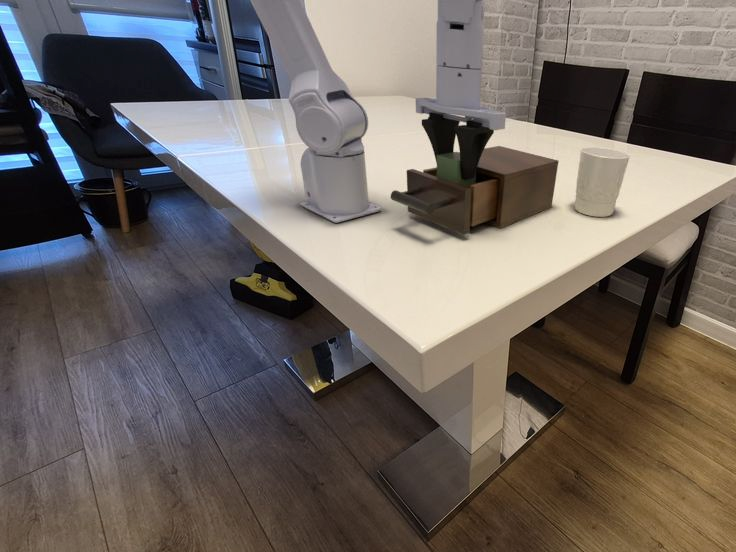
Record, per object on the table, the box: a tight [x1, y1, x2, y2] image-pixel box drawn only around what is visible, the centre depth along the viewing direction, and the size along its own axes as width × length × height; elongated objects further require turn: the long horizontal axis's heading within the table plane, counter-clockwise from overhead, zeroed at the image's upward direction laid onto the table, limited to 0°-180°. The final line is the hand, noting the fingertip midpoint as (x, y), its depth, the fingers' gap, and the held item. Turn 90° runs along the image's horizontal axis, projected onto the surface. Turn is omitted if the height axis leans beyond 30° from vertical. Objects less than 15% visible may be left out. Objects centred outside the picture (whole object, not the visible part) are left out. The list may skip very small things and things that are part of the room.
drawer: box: [390, 166, 500, 235], centre depth 59 cm, size 18×11×6 cm, turn 142°
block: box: [436, 151, 476, 187], centre depth 57 cm, size 4×4×4 cm
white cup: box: [574, 146, 631, 218], centre depth 68 cm, size 8×8×10 cm
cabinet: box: [476, 145, 559, 229], centre depth 66 cm, size 15×13×8 cm
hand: (456, 174), depth 58 cm, fingers closed on block, 4 cm apart
